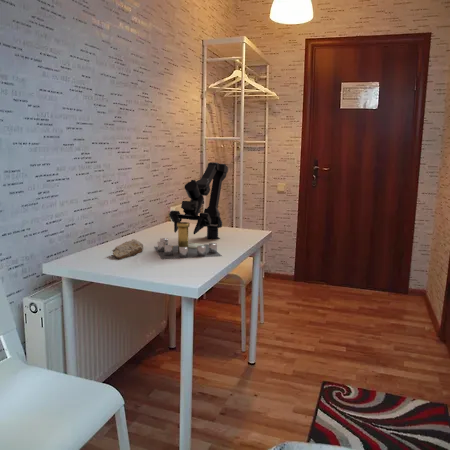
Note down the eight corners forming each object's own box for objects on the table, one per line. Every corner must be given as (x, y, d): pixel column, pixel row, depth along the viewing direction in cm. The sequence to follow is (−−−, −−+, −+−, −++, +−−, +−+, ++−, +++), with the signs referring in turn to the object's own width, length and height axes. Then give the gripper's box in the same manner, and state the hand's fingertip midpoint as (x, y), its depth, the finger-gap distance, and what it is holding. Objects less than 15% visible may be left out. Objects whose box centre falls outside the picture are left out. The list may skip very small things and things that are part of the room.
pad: (183, 244, 210) (183, 243, 209) (201, 244, 212) (201, 242, 212) (187, 249, 201) (187, 247, 201) (206, 248, 204) (206, 247, 204)
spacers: (162, 246, 206) (162, 237, 205) (218, 252, 197) (218, 243, 196) (145, 253, 192) (145, 244, 191) (204, 260, 182) (204, 250, 182)
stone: (133, 237, 203) (149, 233, 198) (138, 251, 204) (154, 246, 199) (100, 251, 186) (117, 246, 180) (106, 266, 186) (122, 261, 181)
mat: (153, 247, 205) (153, 246, 205) (208, 245, 212) (208, 244, 212) (161, 260, 182) (161, 259, 182) (222, 257, 190) (222, 256, 190)
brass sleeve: (175, 251, 197) (176, 222, 195) (187, 250, 198) (188, 221, 196) (178, 254, 192) (178, 224, 189) (190, 253, 193) (190, 224, 191)
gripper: (171, 192, 200) (159, 220, 191) (209, 195, 194) (198, 223, 185) (178, 208, 209) (167, 235, 200) (215, 210, 202) (205, 238, 194)
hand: (184, 232), depth 195 cm, fingers open, 9 cm apart
